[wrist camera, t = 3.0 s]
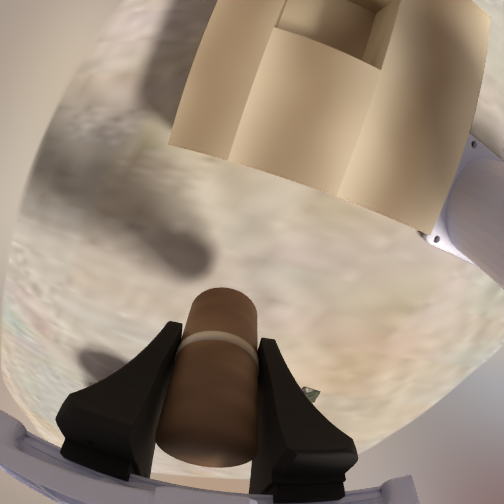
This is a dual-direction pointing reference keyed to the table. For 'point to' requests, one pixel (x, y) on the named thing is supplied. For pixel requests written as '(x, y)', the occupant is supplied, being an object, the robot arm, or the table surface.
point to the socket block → (341, 96)
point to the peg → (214, 384)
